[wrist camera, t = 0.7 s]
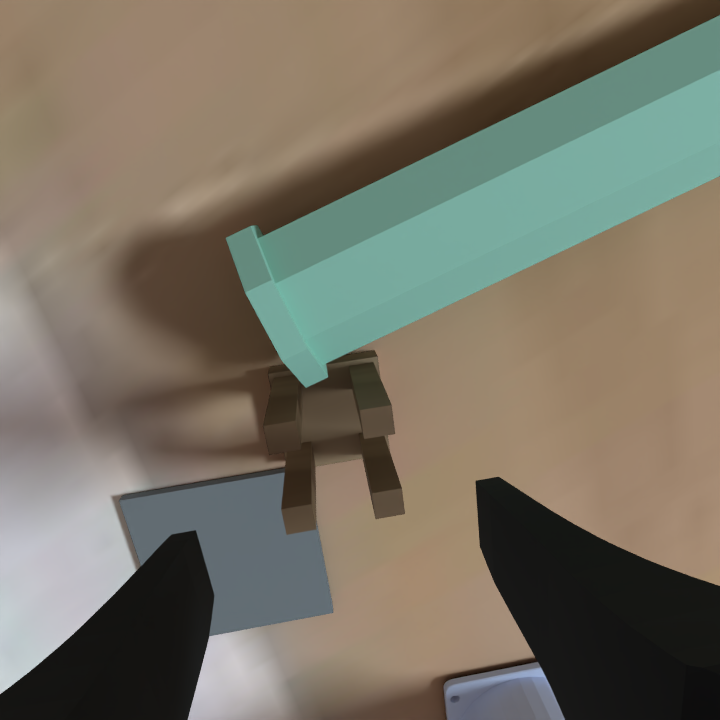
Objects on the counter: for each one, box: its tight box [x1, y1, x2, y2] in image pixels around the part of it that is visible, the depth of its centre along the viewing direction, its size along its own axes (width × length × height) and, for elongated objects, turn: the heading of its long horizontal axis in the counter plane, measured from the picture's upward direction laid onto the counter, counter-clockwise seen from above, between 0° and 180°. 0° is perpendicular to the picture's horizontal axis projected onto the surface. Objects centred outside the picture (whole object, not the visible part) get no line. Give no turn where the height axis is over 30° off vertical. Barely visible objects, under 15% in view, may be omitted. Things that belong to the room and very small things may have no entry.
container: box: [226, 15, 720, 388], centre depth 16 cm, size 6×6×25 cm
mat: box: [119, 468, 333, 636], centre depth 22 cm, size 8×8×1 cm
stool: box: [263, 350, 405, 535], centre depth 18 cm, size 4×4×6 cm
